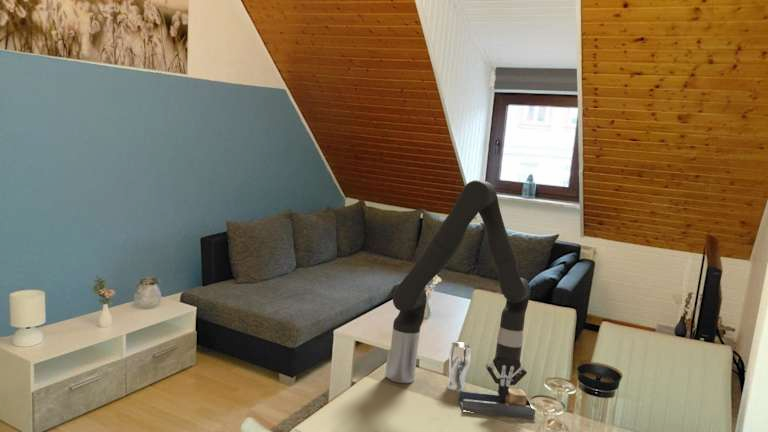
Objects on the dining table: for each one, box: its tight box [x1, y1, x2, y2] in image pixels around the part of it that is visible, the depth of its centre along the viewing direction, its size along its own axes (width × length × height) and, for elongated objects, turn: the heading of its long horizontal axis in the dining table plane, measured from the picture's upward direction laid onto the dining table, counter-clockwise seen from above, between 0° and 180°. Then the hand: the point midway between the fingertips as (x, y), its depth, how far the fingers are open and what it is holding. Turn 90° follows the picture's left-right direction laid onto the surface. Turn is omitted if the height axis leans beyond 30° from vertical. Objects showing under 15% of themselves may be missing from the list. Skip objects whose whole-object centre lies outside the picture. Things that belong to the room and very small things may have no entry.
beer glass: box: [446, 341, 472, 393], centre depth 183 cm, size 7×7×15 cm
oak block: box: [505, 387, 528, 405], centre depth 169 cm, size 5×5×5 cm
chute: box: [457, 390, 536, 420], centre depth 169 cm, size 22×9×4 cm, turn 91°
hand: (502, 396), depth 169 cm, fingers closed
